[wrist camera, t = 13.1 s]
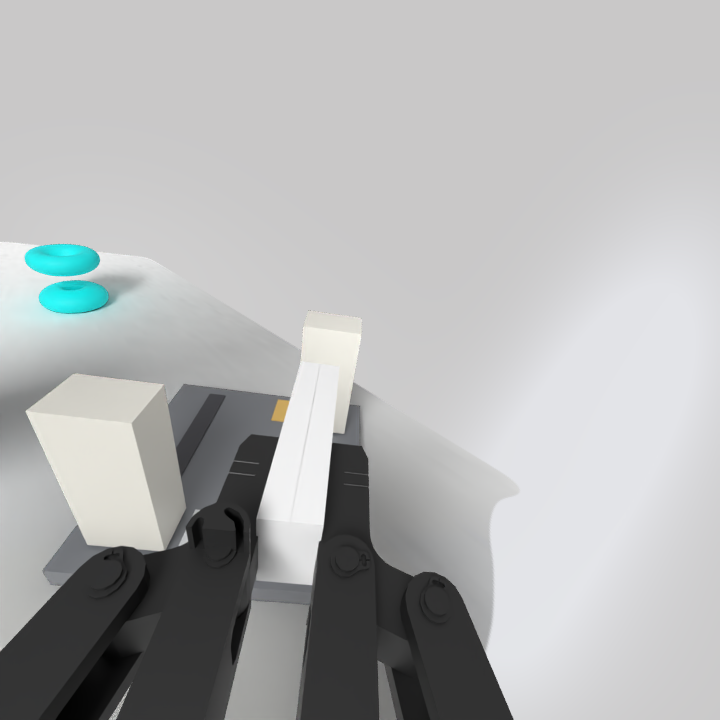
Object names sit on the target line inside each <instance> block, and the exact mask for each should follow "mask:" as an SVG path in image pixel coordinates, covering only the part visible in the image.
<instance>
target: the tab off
mask: <svg viewBox="0 0 720 720" xmlns="http://www.w3.org/2000/svg"><path fill="white" fill-rule="evenodd" d="M25 412H26V414H27V416H28V418H29V420H30V422H31V425H32V427H33V429H34V431H35V433H36V435H37V438H38V440H39V442H40V444H41V446H42V448H43V450H44V453H45V455H46V457H47V459H48V461H49V463H50V466H51V468H52V470H53V472H54V474H55V476H56V478H57V481H58V483H59V485H60V487H61V489H62V491H63V494H64V496H65V498H66V500H67V502H68V504H69V506H70V509H71V511H72V513H73V515H74V517H75V519H76V522H77V524H78V526H79V528H80V530H81V532H82V534H83V537H84V539H85V541H86V543H87V545H93V546H105V547H118V546H128V547H134V548H135V549H140V550H151V551H163V550H166V548H167V546H168V544H169V542H170V540H171V538H172V536H173V534H174V532H175V530H176V528H177V526H178V524H179V522H180V520H181V518H182V516H183V514H184V512H185V509H186V503H185V498H184V492H183V486H182V481H181V475H180V470H179V464H178V458H177V453H176V447H175V442H174V436H173V431H172V425H171V419H170V414H169V408H168V403H167V397H166V391H165V386H164V384H157V383H149V382H141V381H133V380H125V379H117V378H108V377H100V376H92V375H84V374H76V373H74V374H73V375H71V376H70V377H69V378H67V379H66V380H65V381H64V382H62V383H61V384H60V385H58V386H57V387H56V388H55V389H53V390H52V391H51V392H49V393H48V394H47V395H45V396H44V397H43V398H42V399H40V400H39V401H38V402H36V403H35V404H34V405H33V406H31V407H30V408H29V409H27V410H26V411H25Z"/></svg>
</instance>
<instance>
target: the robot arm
mask: <svg viewBox="0 0 720 720" xmlns="http://www.w3.org/2000/svg"><path fill="white" fill-rule="evenodd" d="M339 367H340V366H333V365H325V364H318V363H311V362H303V361H301V363H300V366H299V370H298V373H297V377H296V380H295V384H294V387H293V391H292V394H291V398H290V401H289V405H288V409H287V412H286V416H285V419H284V423H283V426H282V430H281V433H280V437H272V436H264V435H255V434H251V435H250V436H249V437H248V438H247V439H246V440H245V441H244V442H243V443H242V444H241V445H240V446H239V448H238V451H237V453H236V456H235V458H234V462H233V463H232V465H231V468H230V470H229V474H228V475H227V478H226V480H225V482H224V485H223V487H222V490H221V492H220V495H219V497H218V500H217V502H216V503H214V504H212V505H209V506H206V507H204V508H202V509H201V510H200V511H199V512H197V513H196V514H195V515H193V516H192V518H191V519H190V521H189V522H188V524H187V525H186V532H187V538H188V542H187V543H185V544H183V545H181V546H178V547H175V548H172V549H167V550H163V551H159V552H154V553H150V554H145V555H143V554H142V553H141V552H140V551H138V550H137V549H135V548H134V547H128V546H118V547H113V548H108V549H106V550H104V551H102V552H100V553H98V554H96V555H94V556H92V557H91V558H90V559H89V560H88V561H86V562H85V563H84V564H83V565H82V566H80V567H79V568H78V569H77V570H76V572H75V573H74V574H73V575H72V576H71V577H70V578H69V579H68V580H67V581H66V582H65V583H64V584H63V585H62V586H61V588H60V589H59V590H58V591H57V592H56V593H55V594H54V595H53V596H52V597H51V598H50V599H49V600H48V601H47V603H46V604H45V605H44V606H43V607H42V608H41V609H40V610H39V611H38V612H37V613H36V614H35V615H34V616H33V617H32V619H31V620H30V621H29V622H28V623H27V624H26V625H25V626H24V627H23V628H22V629H21V630H20V631H19V632H18V634H17V635H16V636H15V637H14V638H13V639H12V640H11V641H10V642H9V643H8V644H7V645H6V646H5V647H4V648H3V650H2V651H1V652H0V720H109V718H110V717H111V715H112V714H113V712H114V710H115V709H116V707H117V706H118V704H119V702H120V701H121V699H122V698H123V696H124V694H125V693H126V691H127V690H128V688H129V686H130V685H131V686H130V689H129V691H128V694H127V696H126V698H125V701H124V703H123V705H122V708H121V710H120V712H119V715H118V717H117V719H116V720H224V718H225V714H226V709H227V705H228V701H229V697H230V693H231V688H232V684H233V680H234V676H235V672H236V667H237V663H238V659H239V655H240V651H241V646H242V642H243V638H244V634H245V630H246V626H247V621H248V617H249V613H250V609H251V594H252V590H253V586H254V582H255V578H256V581H268V582H280V583H292V584H304V585H312V592H311V601H310V607H309V613H308V618H307V624H306V625H307V630H306V639H305V647H304V656H303V664H302V673H301V682H300V690H299V699H298V707H297V716H296V720H379V698H378V664H377V660H379V661H380V662H382V663H384V664H385V668H386V673H387V677H388V682H389V686H390V691H391V695H392V699H393V704H394V708H395V713H396V717H397V720H513V717H512V715H511V713H510V710H509V708H508V705H507V703H506V701H505V698H504V696H503V694H502V691H501V689H500V687H499V684H498V682H497V679H496V677H495V675H494V672H493V670H492V668H491V665H490V663H489V661H488V659H487V656H486V653H485V651H484V649H483V646H482V644H481V642H480V639H479V637H478V635H477V632H476V630H475V628H474V625H473V623H472V620H471V618H470V616H469V613H468V611H467V609H466V606H465V604H464V602H463V599H462V597H461V596H460V594H459V592H458V591H457V589H456V587H455V586H454V585H453V584H452V583H451V582H450V581H449V580H448V579H446V578H445V577H443V576H441V575H439V574H437V573H435V572H423V573H420V574H418V575H416V576H414V577H413V576H411V575H409V574H406V573H404V572H402V571H400V570H398V569H396V568H393V567H392V566H390V565H388V564H387V563H385V562H384V561H383V560H382V559H381V558H380V557H379V556H378V554H377V553H376V551H375V550H374V548H373V545H372V543H371V539H370V523H369V488H368V487H369V476H368V458H367V456H366V454H365V452H364V450H363V448H362V446H357V445H348V444H340V443H332V437H333V427H334V417H335V407H336V397H337V387H338V377H339ZM131 683H132V684H131Z"/></svg>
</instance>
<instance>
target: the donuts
mask: <svg viewBox="0 0 720 720" xmlns="http://www.w3.org/2000/svg"><path fill="white" fill-rule="evenodd" d="M25 262H26V264H27V265H28V266H29V267H30V268H32V269H33V270H35V271H37V272H39V273H42V274H46V275H52V276H75V275H81V274H85V273H88V272H90V271H92V270H94V269H95V268H96V267H97V266H98V265H99V262H100V258H99V255H98V254H97V253H96V252H95V251H94V250H92V249H90V248H88V247H85V246H80V245H71V244H53V245H44V246H39V247H35V248H33V249H31V250H29V251H28V252H27V253H26V254H25ZM108 298H109V295H108V292H107V290H106V289H105V288H104V287H102V286H101V285H99V284H96V283H93V282H89V281H81V280H72V281H63V282H58V283H54V284H52V285H49V286H47V287H46V288H44V289H43V290H42V291H41V293H40V295H39V301H40V303H41V304H42V306H44V307H45V308H47V309H49V310H51V311H54V312H60V313H81V312H87V311H91V310H95V309H97V308H100V307H102V306H103V305H104V304H105V303H106V302H107V301H108Z"/></svg>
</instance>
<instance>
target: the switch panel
mask: <svg viewBox="0 0 720 720" xmlns="http://www.w3.org/2000/svg"><path fill="white" fill-rule="evenodd" d="M290 398H291V397H284V396H276V395H268V394H260V393H251V392H243V391H235V390H227V389H219V388H211V387H203V386H195V385H187V384H184V385H183V386H182V387H181V389H180V390H179V391H178V393H177V394H176V395H175V397H174V398H173V399H172V401H171V402H170V403H169V405H168V408H169V414H170V419H171V425H172V431H173V436H174V442H175V447H176V453H177V458H178V464H179V470H180V475H181V481H182V486H183V492H184V498H185V503H186V509H185V512H184V514H183V516H182V518H181V520H180V522H179V524H178V526H177V528H176V530H175V532H174V534H173V536H172V538H171V540H170V542H169V544H168V546H167V548H166V550H167V549H172V548H175V547H178V546H181V545H183V544H185V543H187V542H188V538H187V532H186V525H187V524H188V522H189V521H190V519H191V518H192V516H193V515H195V514H196V513H197V512H199V511H200V510H201V509H202V508H204V507H206V506H209V505H212V504H214V503H216V502H217V500H218V497H219V495H220V492H221V490H222V487H223V485H224V482H225V480H226V478H227V475H228V474H229V470H230V468H231V465H232V463H233V462H234V458H235V456H236V453H237V451H238V448H239V446H240V445H241V444H242V443H243V442H244V441H245V440H246V439H247V438H248V437H249V436H250V435H251V434H255V435H264V436H272V437H280V433H281V430H282V426H283V423H284V419H285V416H286V412H287V409H288V405H289V401H290ZM332 443H340V444H348V445H357V446H360V406H357V405H349V409H348V415H347V420H346V426H345V432H344V434H341V433H333V437H332ZM108 548H113V547H105V546H93V545H87V543H86V541H85V539H84V537H83V534H82V532H81V530H80V528H79V526H78V525H77V526H76V527H75V528H74V530H73V531H72V532H71V534H70V535H69V536H68V538H67V539H66V540H65V542H64V543H63V544H62V546H61V547H60V548H59V550H58V551H57V552H56V553H55V555H54V556H53V557H52V559H51V560H50V561H49V563H48V564H47V565H46V567H45V568H44V569H43V571H42V572H43V573H44V575H45V576H46V578H47V580H48V581H49V583H50V584H51V585H63V584H64V583H65V582H66V581H67V580H68V579H69V578H70V577H71V576H72V575H73V574H74V573H75V572H76V570H77V569H78V568H79V567H80V566H82V565H83V564H84V563H85V562H86V561H88V560H89V559H90V558H91V557H92V556H94V555H96V554H98V553H100V552H102V551H104V550H106V549H108ZM137 550H138V551H140V552H141V553H142V554H143V555H145V554H150V553H154V552H159V551H151V550H140V549H137ZM311 592H312V585H304V584H292V583H280V582H268V581H256V578H255V582H254V586H253V590H252V594H251V600H257V601H270V602H283V603H296V604H309V605H310V601H311Z"/></svg>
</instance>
